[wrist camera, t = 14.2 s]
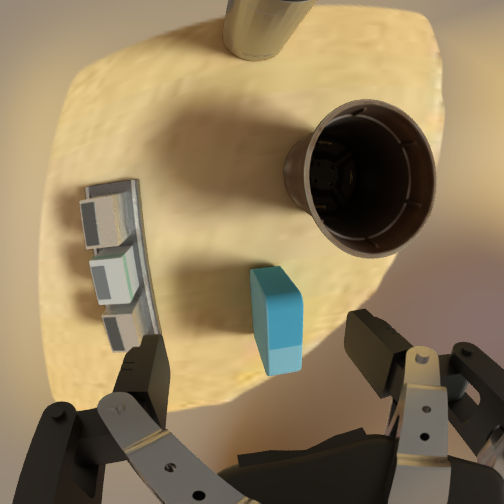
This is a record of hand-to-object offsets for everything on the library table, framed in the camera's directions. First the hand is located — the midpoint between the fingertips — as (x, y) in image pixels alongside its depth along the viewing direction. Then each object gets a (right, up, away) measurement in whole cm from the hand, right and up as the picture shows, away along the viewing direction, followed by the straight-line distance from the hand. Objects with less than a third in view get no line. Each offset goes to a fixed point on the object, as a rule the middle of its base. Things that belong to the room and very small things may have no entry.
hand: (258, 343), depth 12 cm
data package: (+2, -4, +33) cm, 34 cm away
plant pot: (+10, +15, +29) cm, 34 cm away
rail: (-19, +2, +28) cm, 34 cm away
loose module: (-19, +2, +26) cm, 33 cm away
